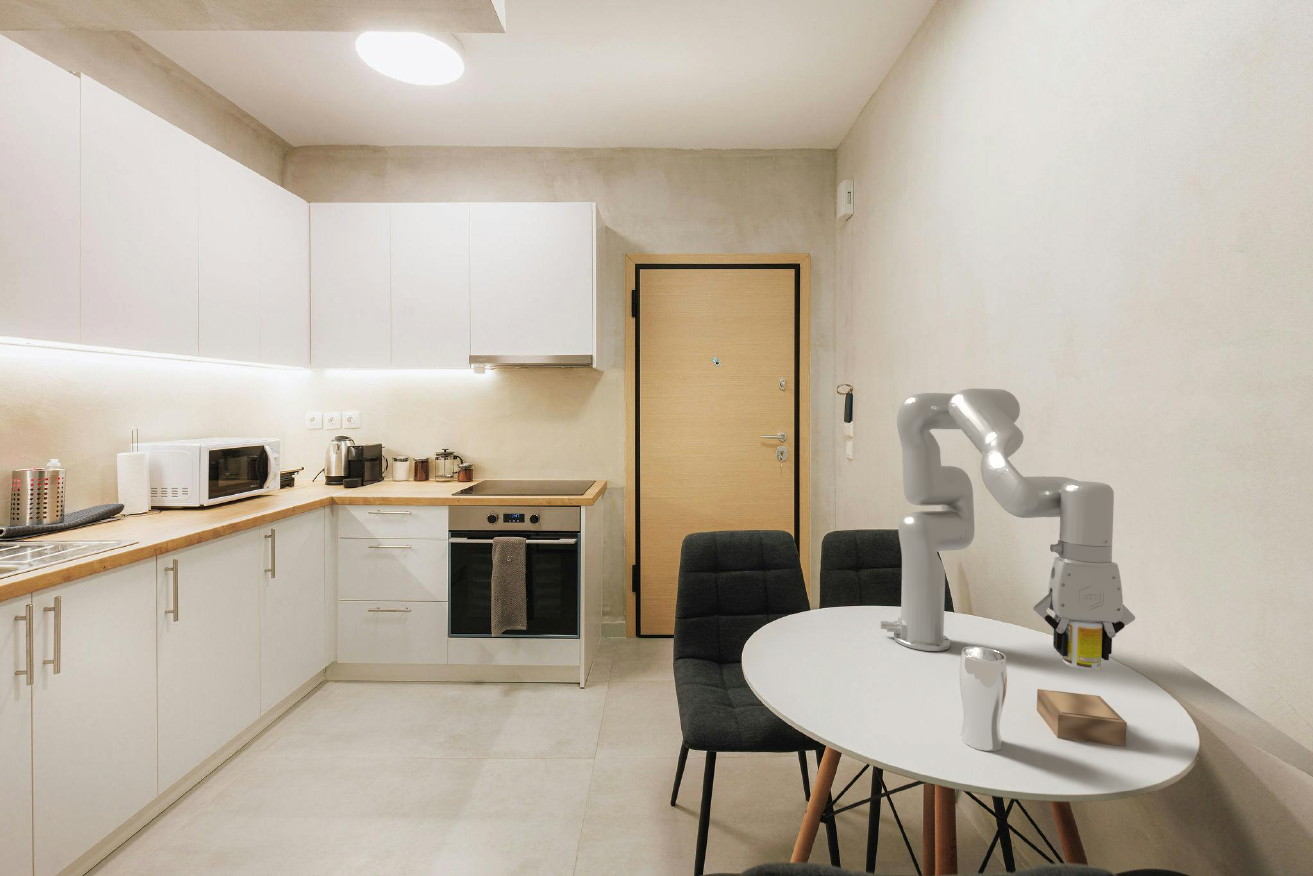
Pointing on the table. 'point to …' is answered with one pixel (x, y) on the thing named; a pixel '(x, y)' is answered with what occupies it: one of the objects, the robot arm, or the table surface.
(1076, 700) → the base
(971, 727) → the beer glass
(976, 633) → the table surface
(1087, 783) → the table surface
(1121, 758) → the table surface
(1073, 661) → the supplement bottle
